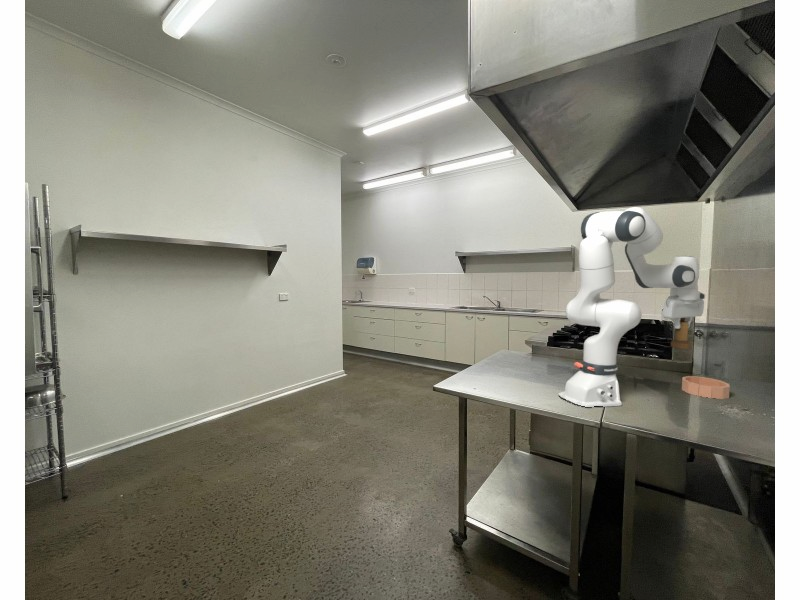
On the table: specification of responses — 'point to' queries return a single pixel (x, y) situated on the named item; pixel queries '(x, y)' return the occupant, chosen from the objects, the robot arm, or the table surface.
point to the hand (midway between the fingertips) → (682, 328)
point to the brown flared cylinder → (681, 336)
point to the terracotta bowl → (705, 387)
